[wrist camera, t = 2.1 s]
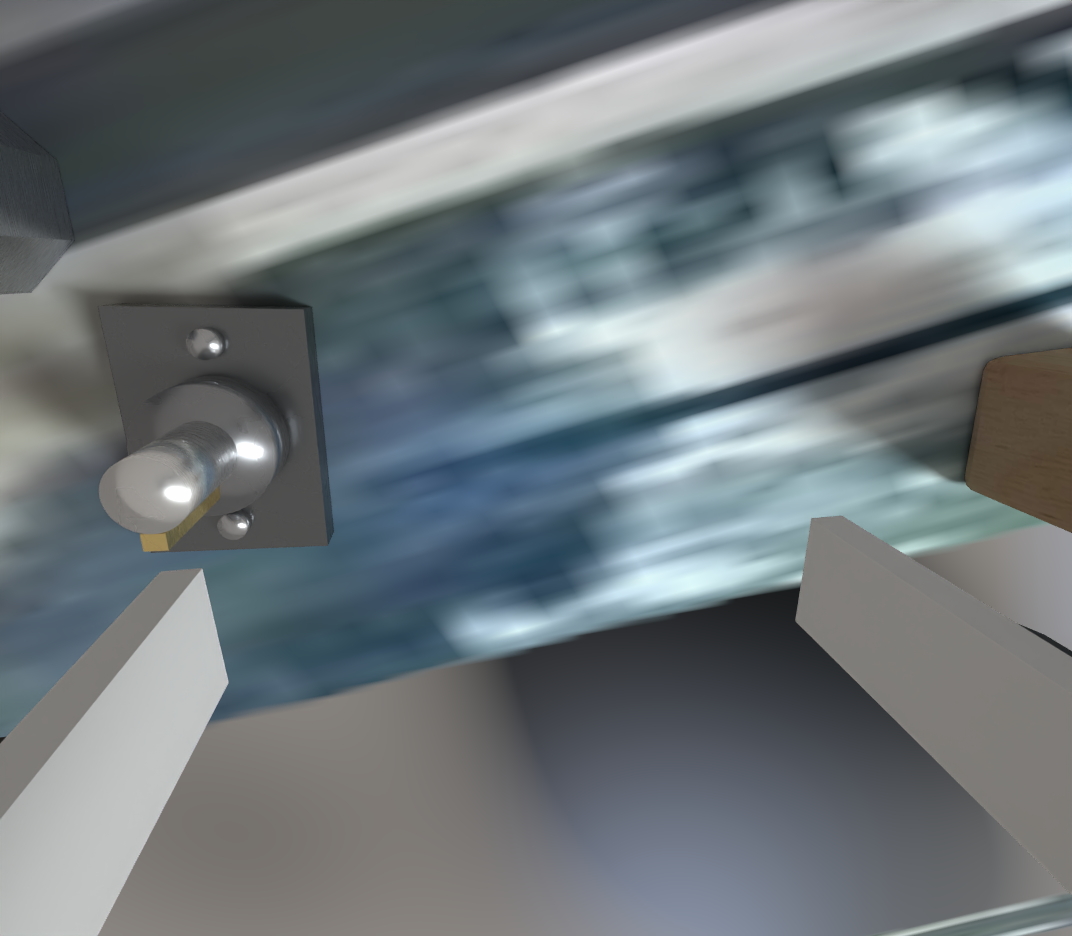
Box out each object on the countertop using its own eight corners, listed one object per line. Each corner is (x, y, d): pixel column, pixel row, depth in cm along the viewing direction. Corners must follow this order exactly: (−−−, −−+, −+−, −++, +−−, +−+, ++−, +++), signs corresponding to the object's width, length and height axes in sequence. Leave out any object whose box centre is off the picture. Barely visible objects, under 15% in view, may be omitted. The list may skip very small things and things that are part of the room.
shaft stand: (118, 303, 31) (-43, 321, 21) (312, 307, 33) (249, 325, 22) (166, 537, 36) (53, 647, 25) (333, 531, 37) (290, 632, 27)
